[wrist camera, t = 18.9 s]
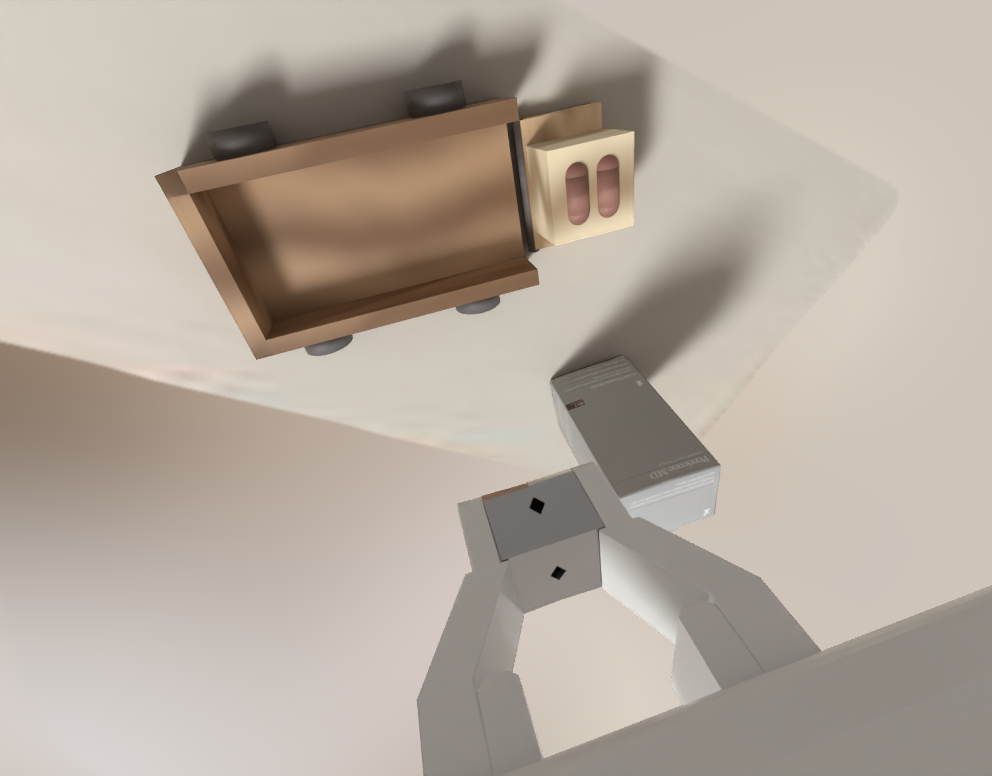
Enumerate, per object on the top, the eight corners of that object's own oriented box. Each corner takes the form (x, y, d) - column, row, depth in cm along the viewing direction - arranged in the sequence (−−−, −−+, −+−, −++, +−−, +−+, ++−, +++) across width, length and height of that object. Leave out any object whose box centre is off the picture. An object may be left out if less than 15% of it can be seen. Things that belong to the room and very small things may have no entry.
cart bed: (167, 141, 28) (139, 148, 24) (494, 73, 30) (513, 69, 27) (274, 348, 36) (265, 376, 33) (524, 282, 38) (541, 301, 35)
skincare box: (623, 352, 45) (729, 454, 32) (627, 407, 49) (723, 517, 36) (543, 379, 44) (619, 494, 31) (554, 432, 48) (625, 554, 36)
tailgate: (514, 118, 31) (601, 99, 32) (510, 118, 32) (595, 99, 32) (531, 253, 36) (605, 234, 37) (527, 250, 37) (600, 231, 38)
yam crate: (525, 145, 32) (549, 152, 28) (604, 128, 33) (638, 131, 29) (535, 231, 35) (557, 247, 31) (607, 213, 36) (637, 227, 32)
